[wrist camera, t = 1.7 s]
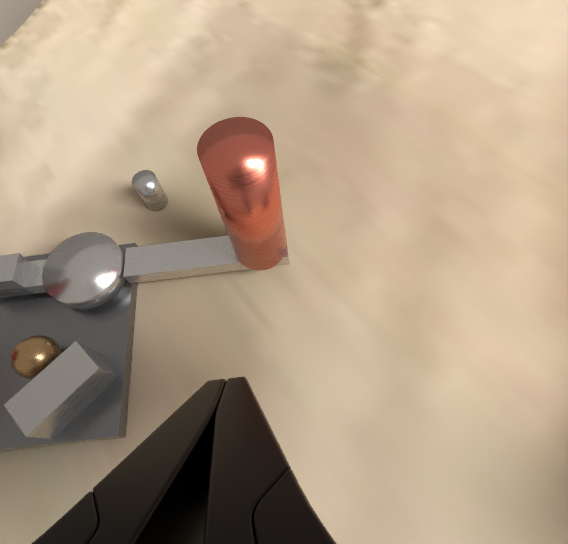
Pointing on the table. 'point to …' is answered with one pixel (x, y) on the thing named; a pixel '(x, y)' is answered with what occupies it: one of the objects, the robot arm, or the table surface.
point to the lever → (184, 254)
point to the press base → (65, 333)
